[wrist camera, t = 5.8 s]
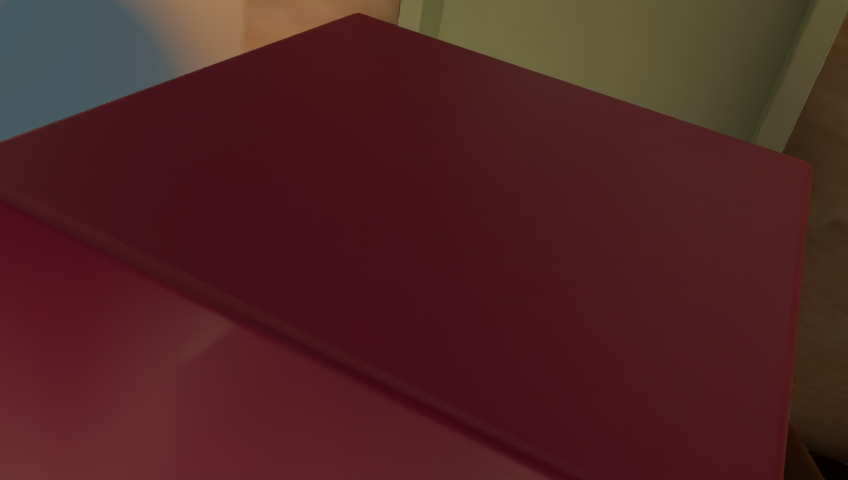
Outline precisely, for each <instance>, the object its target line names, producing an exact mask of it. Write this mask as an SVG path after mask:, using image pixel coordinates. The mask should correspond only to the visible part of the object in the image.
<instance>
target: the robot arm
mask: <svg viewBox="0 0 848 480" xmlns="http://www.w3.org/2000/svg"><path fill="white" fill-rule="evenodd" d="M783 480H848V465H847V464H844V463H842V462H839V461H837V460H834V459H832V458H829V457H827V456H824V455H820V454H818V453H815V452H813V451H810V450H808V449H806V448H805V446H804V444H803V443H802V441H801V439H800V438H799V436H798V434H797V433H796V431H795V430H794V428H793V426H792V425H791V423H790V421H789V423H788V433H787V444H786V454H785V464H784V475H783Z"/></svg>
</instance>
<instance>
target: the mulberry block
mask: <svg viewBox="0 0 848 480" xmlns="http://www.w3.org/2000/svg"><path fill="white" fill-rule="evenodd" d="M812 172H813V167H812V166H811V165H810V164H809V163H808V162H806V161H803V160H800V159H797V158H794V157H791V156H788V155H785V154H782V153H779V152H776V151H773V150H770V149H767V148H764V147H761V146H758V145H755V144H752V143H749V142H746V141H743V140H740V139H737V138H734V137H731V136H728V135H725V134H722V133H719V132H716V131H713V130H710V129H707V128H704V127H701V126H698V125H695V124H692V123H689V122H686V121H683V120H680V119H677V118H674V117H671V116H668V115H665V114H662V113H659V112H656V111H653V110H650V109H647V108H644V107H641V106H638V105H635V104H632V103H629V102H626V101H623V100H620V99H617V98H614V97H611V96H608V95H605V94H602V93H599V92H596V91H592V90H589V89H586V88H583V87H580V86H577V85H574V84H571V83H568V82H565V81H562V80H559V79H556V78H553V77H550V76H547V75H544V74H541V73H538V72H535V71H532V70H529V69H526V68H523V67H520V66H517V65H514V64H511V63H508V62H505V61H502V60H499V59H496V58H493V57H490V56H487V55H484V54H481V53H478V52H475V51H472V50H469V49H466V48H463V47H460V46H457V45H454V44H451V43H448V42H445V41H442V40H439V39H436V38H433V37H430V36H427V35H424V34H421V33H418V32H415V31H412V30H409V29H406V28H403V27H400V26H397V25H394V24H391V23H388V22H385V21H382V20H379V19H376V18H373V17H370V16H367V15H364V14H361V13H356V14H352V15H349V16H346V17H343V18H340V19H338V20H335V21H332V22H329V23H327V24H324V25H321V26H318V27H316V28H313V29H310V30H307V31H305V32H302V33H299V34H296V35H294V36H291V37H288V38H285V39H282V40H280V41H277V42H274V43H271V44H269V45H266V46H263V47H260V48H258V49H255V50H252V51H249V52H247V53H244V54H241V55H238V56H236V57H233V58H230V59H227V60H224V61H222V62H219V63H216V64H213V65H211V66H208V67H205V68H202V69H200V70H197V71H194V72H192V73H189V74H186V75H183V76H180V77H178V78H175V79H172V80H169V81H167V82H164V83H161V84H158V85H155V86H153V87H150V88H147V89H144V90H142V91H139V92H136V93H133V94H131V95H128V96H125V97H123V98H120V99H117V100H114V101H111V102H109V103H106V104H103V105H100V106H97V107H95V108H92V109H89V110H86V111H84V112H81V113H78V114H76V115H73V116H70V117H67V118H64V119H62V120H59V121H56V122H53V123H50V124H48V125H45V126H42V127H39V128H37V129H34V130H31V131H29V132H26V133H23V134H20V135H17V136H15V137H12V138H9V139H6V140H4V141H1V142H0V480H783V475H784V464H785V454H786V444H787V433H788V423H789V412H790V402H791V392H792V381H793V371H794V361H795V350H796V340H797V329H798V319H799V309H800V298H801V288H802V278H803V267H804V257H805V246H806V236H807V226H808V215H809V205H810V195H811V184H812Z"/></svg>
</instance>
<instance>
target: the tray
mask: <svg viewBox="0 0 848 480" xmlns="http://www.w3.org/2000/svg"><path fill="white" fill-rule="evenodd" d="M847 12H848V0H401V3H400V10H399V17H398V23H397V26H400V27H403V28H406V29H409V30H412V31H415V32H418V33H421V34H424V35H427V36H430V37H433V38H436V39H439V40H442V41H445V42H448V43H451V44H454V45H457V46H460V47H463V48H466V49H469V50H472V51H475V52H478V53H481V54H484V55H487V56H490V57H493V58H496V59H499V60H502V61H505V62H508V63H511V64H514V65H517V66H520V67H523V68H526V69H529V70H532V71H535V72H538V73H541V74H544V75H547V76H550V77H553V78H556V79H559V80H562V81H565V82H568V83H571V84H574V85H577V86H580V87H583V88H586V89H589V90H592V91H596V92H599V93H602V94H605V95H608V96H611V97H614V98H617V99H620V100H623V101H626V102H629V103H632V104H635V105H638V106H641V107H644V108H647V109H650V110H653V111H656V112H659V113H662V114H665V115H668V116H671V117H674V118H677V119H680V120H683V121H686V122H689V123H692V124H695V125H698V126H701V127H704V128H707V129H710V130H713V131H716V132H719V133H722V134H725V135H728V136H731V137H734V138H737V139H740V140H743V141H746V142H749V143H752V144H755V145H758V146H761V147H764V148H767V149H770V150H773V151H776V152H779V153H782V152H783V150H784V148H785V146H786V144H787V142H788V140H789V137H790V135H791V133H792V131H793V129H794V127H795V124H796V122H797V120H798V118H799V116H800V114H801V112H802V109H803V107H804V105H805V103H806V101H807V99H808V96H809V94H810V92H811V90H812V88H813V86H814V84H815V81H816V79H817V77H818V75H819V73H820V71H821V68H822V66H823V64H824V62H825V60H826V58H827V56H828V53H829V51H830V49H831V47H832V45H833V43H834V40H835V38H836V36H837V34H838V32H839V30H840V28H841V25H842V23H843V21H844V19H845V17H846V15H847Z"/></svg>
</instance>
